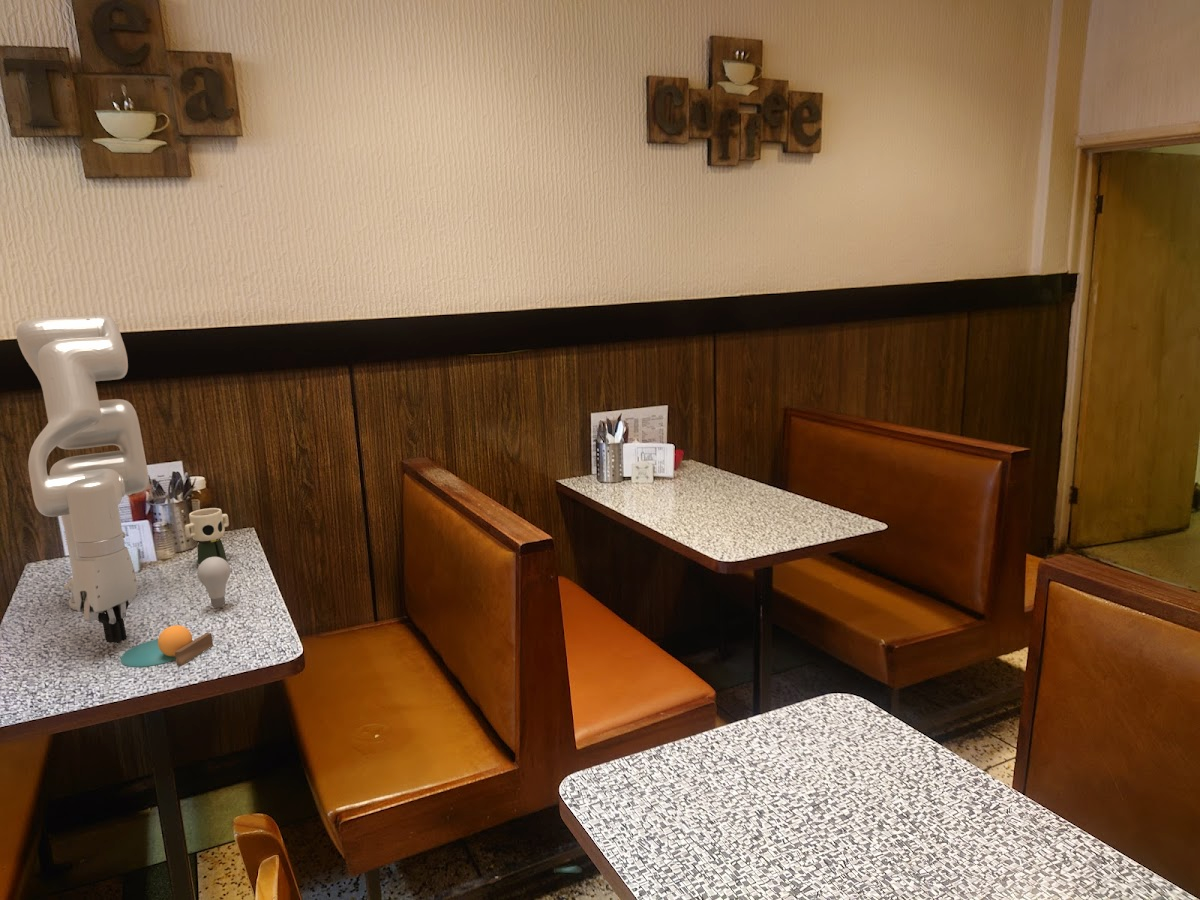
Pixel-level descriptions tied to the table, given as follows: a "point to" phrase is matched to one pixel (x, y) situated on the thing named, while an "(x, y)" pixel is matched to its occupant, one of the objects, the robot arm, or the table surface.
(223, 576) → the lightbulb
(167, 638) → the ball
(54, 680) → the table surface
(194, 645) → the stopper strip
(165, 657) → the disc
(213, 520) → the character mug
